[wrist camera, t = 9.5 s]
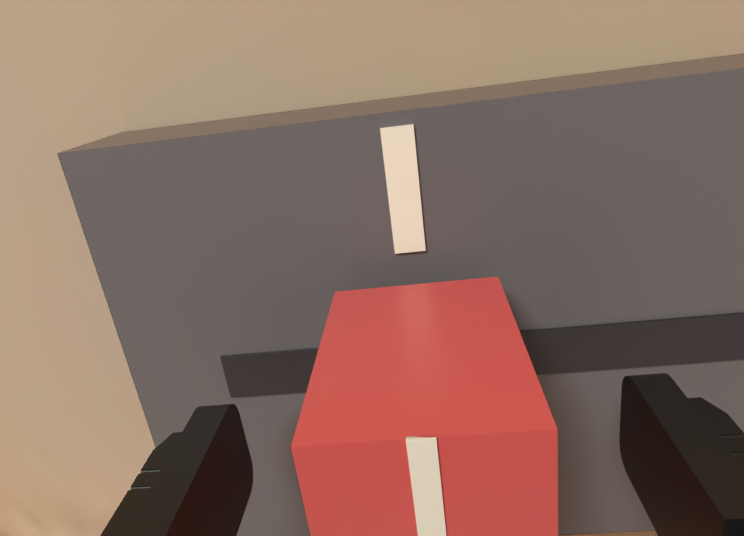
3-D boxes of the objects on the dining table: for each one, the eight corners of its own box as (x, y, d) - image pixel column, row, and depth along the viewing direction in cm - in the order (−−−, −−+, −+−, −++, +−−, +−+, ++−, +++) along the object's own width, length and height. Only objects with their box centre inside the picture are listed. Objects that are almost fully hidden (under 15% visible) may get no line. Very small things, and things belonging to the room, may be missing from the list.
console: (1069, 12, 13) (1261, 4, 10) (939, 436, 17) (1046, 515, 14) (121, 132, 15) (54, 153, 12) (221, 479, 20) (189, 555, 17)
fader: (494, 265, 12) (558, 431, 7) (502, 447, 14) (559, 685, 9) (337, 280, 13) (290, 449, 7) (366, 456, 15) (344, 689, 9)
